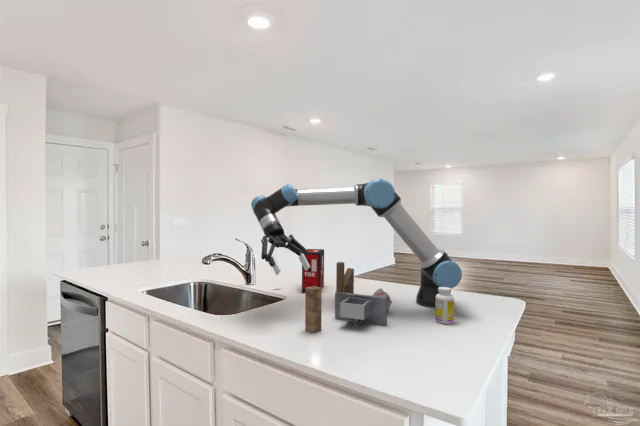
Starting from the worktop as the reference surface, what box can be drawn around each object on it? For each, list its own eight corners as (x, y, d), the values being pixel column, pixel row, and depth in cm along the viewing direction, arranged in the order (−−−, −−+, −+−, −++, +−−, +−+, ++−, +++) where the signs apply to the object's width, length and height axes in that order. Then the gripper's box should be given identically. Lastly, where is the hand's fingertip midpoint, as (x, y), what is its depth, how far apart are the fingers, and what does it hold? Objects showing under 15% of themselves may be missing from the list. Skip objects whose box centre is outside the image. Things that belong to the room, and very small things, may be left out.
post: (313, 327, 131) (314, 286, 130) (321, 330, 128) (321, 288, 127) (305, 330, 128) (305, 287, 128) (312, 333, 125) (312, 289, 125)
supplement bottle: (453, 320, 140) (454, 287, 140) (453, 325, 134) (454, 290, 134) (435, 318, 143) (435, 285, 142) (434, 323, 136) (435, 289, 136)
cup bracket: (387, 324, 135) (387, 297, 135) (379, 333, 125) (379, 304, 125) (336, 317, 143) (337, 291, 143) (325, 325, 133) (326, 298, 133)
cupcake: (396, 312, 150) (396, 288, 150) (384, 317, 143) (384, 292, 143) (377, 307, 156) (377, 284, 156) (364, 312, 149) (364, 288, 149)
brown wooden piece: (353, 298, 171) (354, 260, 171) (341, 303, 162) (341, 263, 162) (347, 297, 173) (347, 259, 173) (334, 302, 165) (334, 262, 164)
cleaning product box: (319, 293, 180) (319, 253, 179) (301, 293, 181) (302, 253, 181) (323, 286, 196) (324, 249, 196) (307, 285, 198) (307, 248, 197)
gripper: (292, 232, 157) (314, 272, 146) (240, 235, 140) (260, 280, 130) (300, 221, 153) (323, 261, 142) (248, 222, 136) (269, 268, 125)
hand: (293, 270), depth 136 cm, fingers open, 13 cm apart
